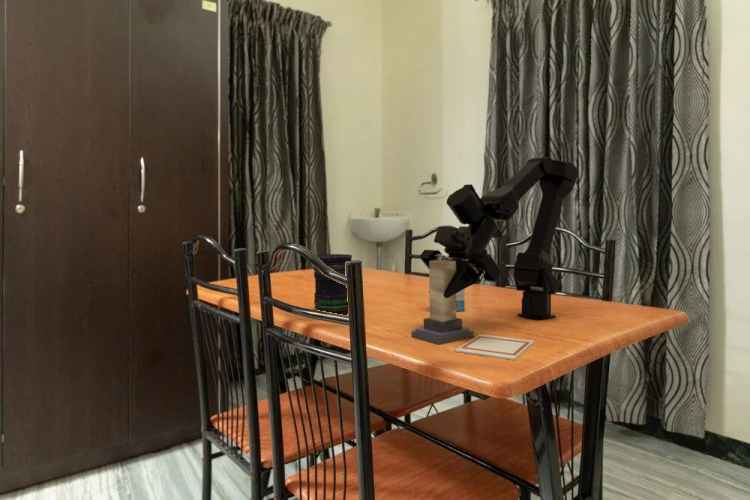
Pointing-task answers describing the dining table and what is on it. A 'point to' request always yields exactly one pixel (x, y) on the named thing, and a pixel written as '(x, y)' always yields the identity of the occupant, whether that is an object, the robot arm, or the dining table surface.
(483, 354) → the paper
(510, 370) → the dining table surface
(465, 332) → the ink pad
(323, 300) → the storage jar
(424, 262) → the robot arm
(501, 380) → the dining table surface
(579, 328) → the dining table surface
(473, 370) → the dining table surface
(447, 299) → the stamp
